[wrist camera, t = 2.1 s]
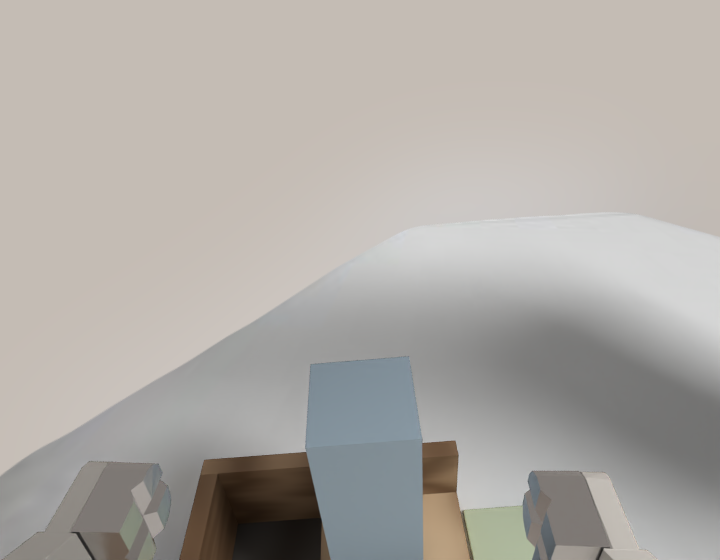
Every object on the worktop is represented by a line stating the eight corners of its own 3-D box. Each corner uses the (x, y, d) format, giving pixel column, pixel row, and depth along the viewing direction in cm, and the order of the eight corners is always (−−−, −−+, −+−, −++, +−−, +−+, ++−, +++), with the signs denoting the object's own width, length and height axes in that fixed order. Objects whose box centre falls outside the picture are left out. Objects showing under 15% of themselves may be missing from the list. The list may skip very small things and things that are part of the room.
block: (414, 531, 36) (409, 356, 26) (423, 611, 32) (422, 439, 22) (343, 536, 36) (310, 364, 26) (343, 616, 32) (305, 447, 22)
